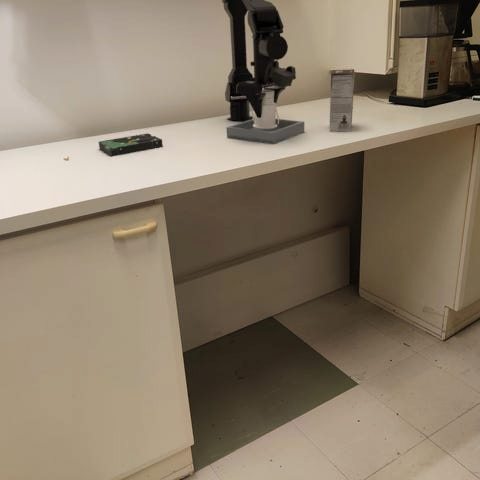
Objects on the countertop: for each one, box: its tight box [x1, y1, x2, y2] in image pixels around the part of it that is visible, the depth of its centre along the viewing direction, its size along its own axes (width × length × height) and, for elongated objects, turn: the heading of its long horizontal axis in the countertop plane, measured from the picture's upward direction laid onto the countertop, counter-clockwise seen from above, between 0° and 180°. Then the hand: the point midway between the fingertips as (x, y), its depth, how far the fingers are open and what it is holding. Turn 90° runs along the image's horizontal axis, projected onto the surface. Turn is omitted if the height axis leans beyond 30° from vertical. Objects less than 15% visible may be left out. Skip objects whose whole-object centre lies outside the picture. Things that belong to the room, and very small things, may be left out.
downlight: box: [251, 89, 280, 129], centre depth 136 cm, size 8×7×10 cm
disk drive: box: [98, 133, 164, 157], centre depth 132 cm, size 10×3×15 cm
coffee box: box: [329, 68, 355, 132], centre depth 139 cm, size 9×6×16 cm
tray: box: [226, 118, 305, 145], centre depth 138 cm, size 16×16×3 cm
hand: (265, 115), depth 136 cm, fingers closed on downlight, 6 cm apart
